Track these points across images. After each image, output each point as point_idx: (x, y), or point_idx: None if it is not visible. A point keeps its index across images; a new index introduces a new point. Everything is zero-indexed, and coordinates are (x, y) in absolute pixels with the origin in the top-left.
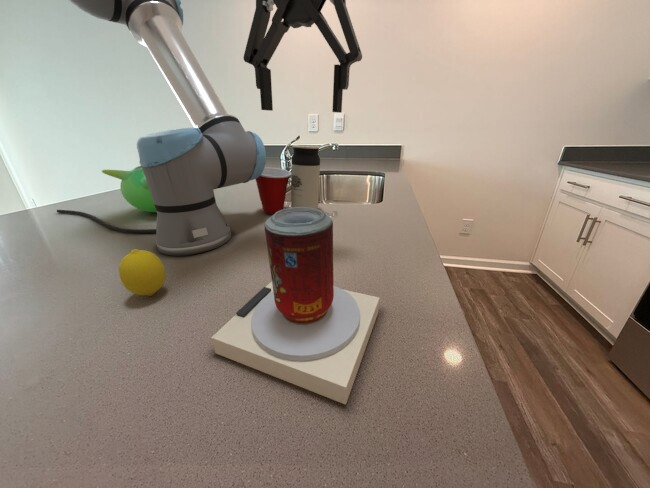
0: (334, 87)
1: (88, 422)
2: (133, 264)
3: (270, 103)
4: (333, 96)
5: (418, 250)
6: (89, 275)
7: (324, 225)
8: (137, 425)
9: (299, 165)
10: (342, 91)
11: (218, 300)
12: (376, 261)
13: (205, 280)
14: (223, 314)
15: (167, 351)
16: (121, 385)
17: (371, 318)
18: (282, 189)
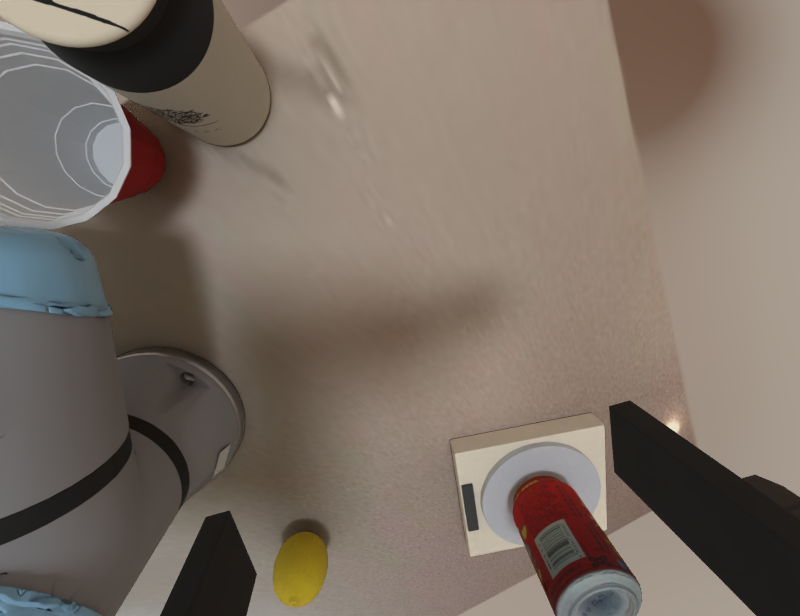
0: (704, 555)
1: (435, 608)
2: (313, 598)
3: (224, 557)
4: (665, 520)
5: (619, 209)
6: (165, 563)
7: (640, 605)
8: (468, 592)
9: (156, 90)
10: (713, 462)
11: (396, 496)
12: (553, 297)
13: (336, 482)
14: (424, 506)
15: (421, 559)
16: (423, 589)
17: (604, 460)
18: (139, 150)
